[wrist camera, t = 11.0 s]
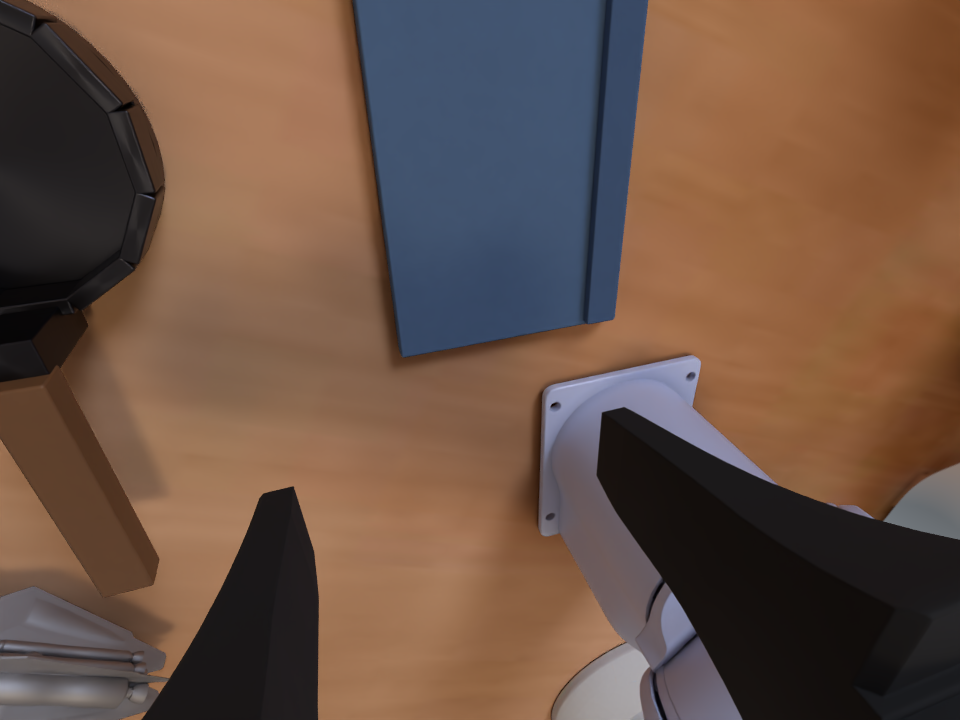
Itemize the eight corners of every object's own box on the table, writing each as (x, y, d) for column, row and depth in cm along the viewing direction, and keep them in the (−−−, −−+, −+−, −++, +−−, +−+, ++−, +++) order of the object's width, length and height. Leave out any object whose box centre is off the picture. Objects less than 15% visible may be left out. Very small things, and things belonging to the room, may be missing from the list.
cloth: (606, 312, 23) (620, 323, 22) (398, 349, 21) (403, 364, 20) (648, -119, 16) (670, -129, 15) (335, -128, 14) (338, -140, 13)
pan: (-328, -30, 11) (-629, -61, 8) (100, -34, 13) (29, -61, 9) (37, 519, 20) (-20, 630, 16) (264, 469, 22) (260, 558, 18)
